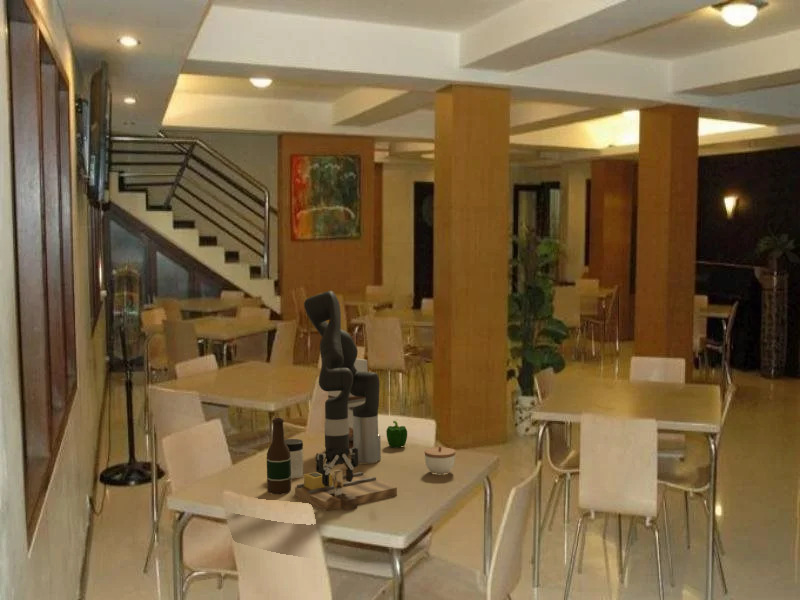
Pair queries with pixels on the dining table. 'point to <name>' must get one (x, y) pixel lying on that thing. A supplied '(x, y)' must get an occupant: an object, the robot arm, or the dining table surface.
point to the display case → (352, 398)
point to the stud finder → (316, 480)
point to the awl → (338, 483)
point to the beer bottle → (278, 461)
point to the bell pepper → (396, 435)
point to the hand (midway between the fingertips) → (337, 483)
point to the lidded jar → (440, 459)
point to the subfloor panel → (347, 493)
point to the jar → (296, 457)
